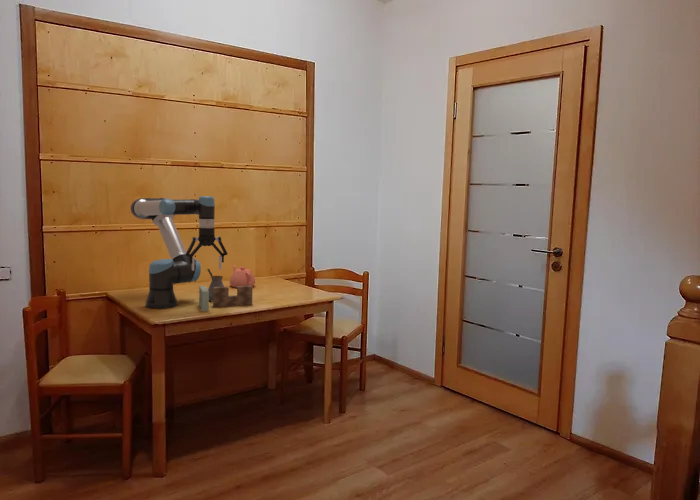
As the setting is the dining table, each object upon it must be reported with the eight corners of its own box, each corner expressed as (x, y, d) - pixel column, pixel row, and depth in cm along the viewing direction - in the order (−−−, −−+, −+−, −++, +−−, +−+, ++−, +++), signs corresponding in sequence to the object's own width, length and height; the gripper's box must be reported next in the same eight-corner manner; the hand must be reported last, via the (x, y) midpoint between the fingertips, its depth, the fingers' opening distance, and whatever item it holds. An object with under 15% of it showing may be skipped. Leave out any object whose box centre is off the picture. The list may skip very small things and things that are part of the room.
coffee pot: (230, 301, 288) (230, 274, 286) (209, 302, 282) (209, 275, 280) (217, 293, 306) (217, 267, 304) (197, 294, 300) (197, 268, 298)
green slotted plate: (202, 311, 264) (202, 291, 262) (199, 304, 277) (199, 286, 275) (208, 311, 265) (208, 291, 264) (205, 304, 278) (205, 285, 276)
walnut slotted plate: (213, 307, 273) (213, 288, 272) (212, 305, 276) (213, 287, 275) (252, 305, 281) (252, 286, 279) (250, 303, 283) (251, 285, 282)
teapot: (221, 284, 332) (222, 264, 330) (243, 282, 342) (244, 263, 340) (238, 290, 315) (239, 270, 314) (261, 288, 325) (262, 268, 324)
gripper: (181, 228, 254) (182, 271, 256) (233, 227, 265) (233, 269, 267) (179, 226, 261) (179, 269, 263) (229, 226, 272) (229, 267, 274)
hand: (206, 269), depth 265 cm, fingers open, 13 cm apart
